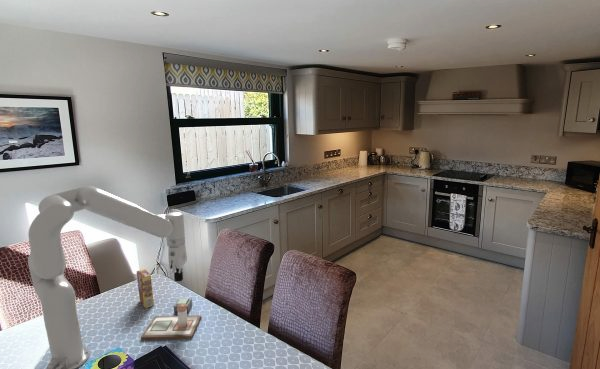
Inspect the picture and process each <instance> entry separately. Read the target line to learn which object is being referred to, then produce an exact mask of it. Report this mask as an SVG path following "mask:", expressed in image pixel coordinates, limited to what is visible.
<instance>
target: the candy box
mask: <svg viewBox="0 0 600 369" xmlns="http://www.w3.org/2000/svg"><path fill="white" fill-rule="evenodd" d="M136 279H137V286H138V287H137V288H138V296H139V302H140V303H141V305H142V306H143V308H144V309H147V308H150V307H153V306H155V304H154V292H153V285H152V275H151V273H150V272H149V271H148V270H147V269H145V268H143V269H139V270H137V271H136Z"/></svg>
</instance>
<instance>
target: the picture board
mask: <svg viewBox="0 0 600 369" xmlns="http://www.w3.org/2000/svg"><path fill="white" fill-rule="evenodd" d="M201 319H202V315H201V314H200V315H187V324H188V325H187V326H186V327H183V328H180V327H179V325H178V315H166V316H165V315H163V316H162V315H161V316H160V315H159V316H157V315H156V316H154V318H153V319H152V321H150V323H149V324H148V326H147V327H146V329H145V330H144V332H143V333H142V335H141V336H140V341H153V340H158V341H159V340H189V339H190V340H191V339H193V337H194V335H195V333H196V330H197V328H198V327H199V324H200V322H201Z"/></svg>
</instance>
